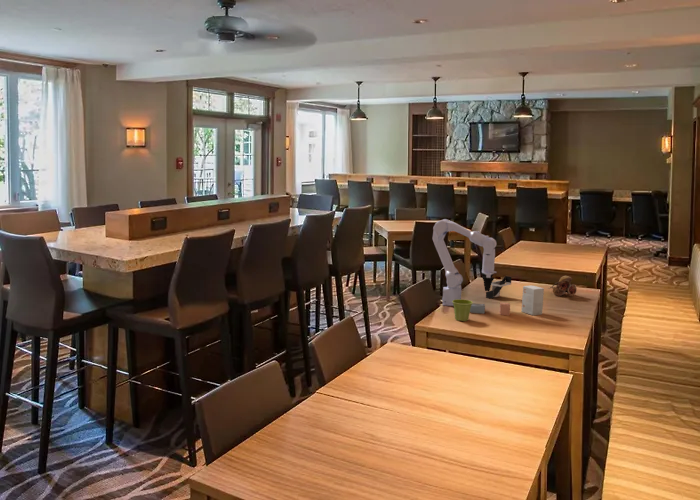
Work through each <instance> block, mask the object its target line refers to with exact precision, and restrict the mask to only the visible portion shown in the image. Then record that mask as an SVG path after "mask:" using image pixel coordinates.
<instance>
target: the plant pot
mask: <svg viewBox="0 0 700 500" xmlns="http://www.w3.org/2000/svg"><path fill="white" fill-rule="evenodd" d="M452 302H453V305H454V306H453V311H454V319H455V320H456V321H459V322H460V321H461V322H467V321H469V319H470V314H471V313H470V308H471V306H472V304H473V301H472V300H470V299H462V298H461V299H457V300H453V301H452Z"/></svg>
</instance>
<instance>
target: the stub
mask: <svg viewBox="0 0 700 500" xmlns="http://www.w3.org/2000/svg"><path fill="white" fill-rule="evenodd" d="M510 310H511V304H510V302H501V301H500V302H499V315H500V316H510V314H511V313H510V312H511V311H510Z"/></svg>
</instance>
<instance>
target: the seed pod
mask: <svg viewBox="0 0 700 500" xmlns="http://www.w3.org/2000/svg"><path fill="white" fill-rule="evenodd" d="M573 279H574V278H572V276H570V275H563V276H561V277H560V278H559V281H557V282H556V281H555V282H554V283H553V284H552V286H550V287H548V288H547V289H549V290H550V289H552V293H553V294H554V296H557V297H561V296H564V295H565V294H568V295H570V296H574V295H575V296H576V293H577V291H578V290H577V286H576V284H574V283H572V281H573Z"/></svg>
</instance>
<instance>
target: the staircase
mask: <svg viewBox="0 0 700 500" xmlns="http://www.w3.org/2000/svg"><path fill="white" fill-rule="evenodd" d="M512 279H513V277H512V276H509V275H505V276H503V278H502V280H497V281H492V284H491V289H490V291H485V299H494V298H497V297H500V294H501V290H502V288H503V287H506V286H511V285H512Z"/></svg>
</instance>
